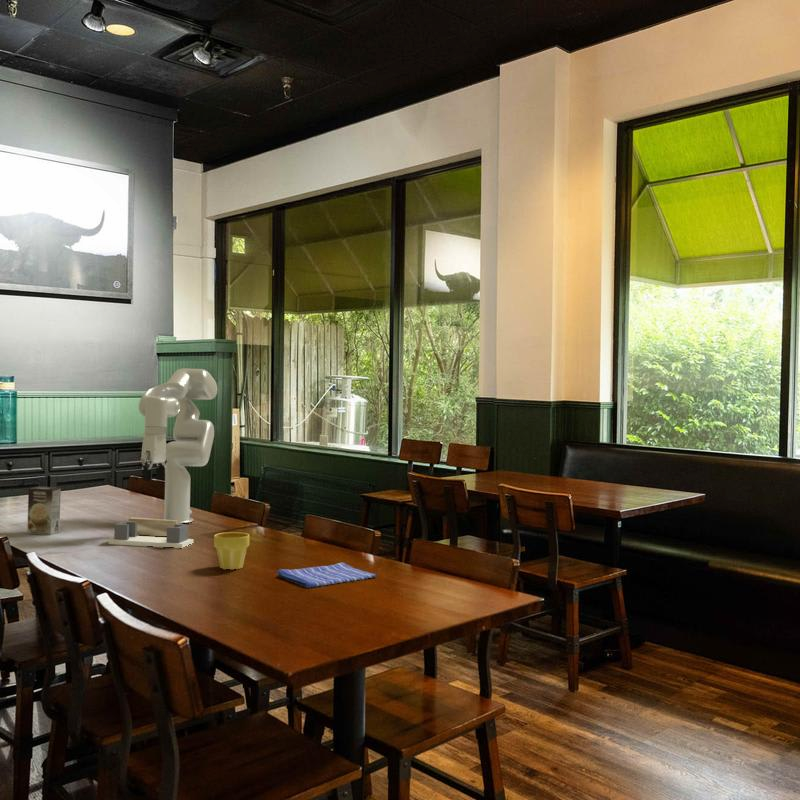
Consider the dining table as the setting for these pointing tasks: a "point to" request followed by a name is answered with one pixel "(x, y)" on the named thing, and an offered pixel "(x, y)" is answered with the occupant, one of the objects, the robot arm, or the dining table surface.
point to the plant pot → (231, 549)
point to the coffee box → (43, 510)
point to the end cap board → (128, 536)
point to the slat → (153, 526)
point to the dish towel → (324, 575)
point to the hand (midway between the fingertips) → (153, 479)
